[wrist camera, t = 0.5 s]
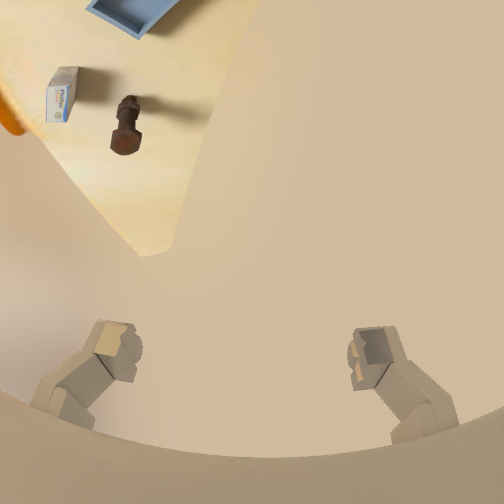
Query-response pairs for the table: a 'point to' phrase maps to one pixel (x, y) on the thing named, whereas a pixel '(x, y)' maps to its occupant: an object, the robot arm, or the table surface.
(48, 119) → the medicine box
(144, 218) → the table surface
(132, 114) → the bolt
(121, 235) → the table surface
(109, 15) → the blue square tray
